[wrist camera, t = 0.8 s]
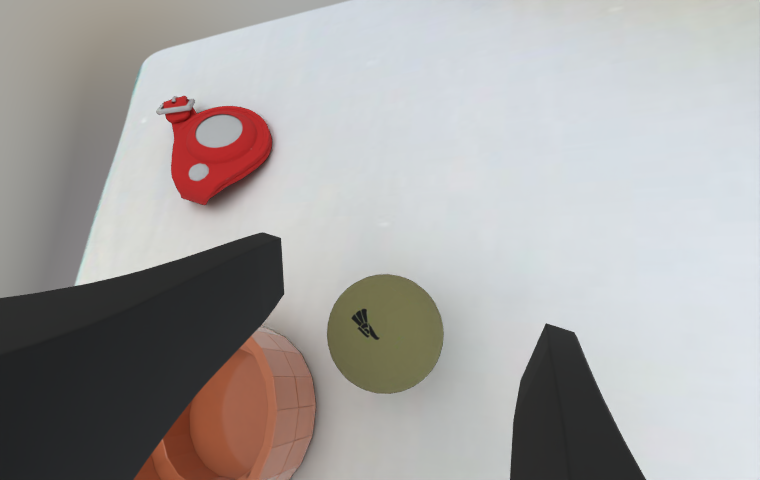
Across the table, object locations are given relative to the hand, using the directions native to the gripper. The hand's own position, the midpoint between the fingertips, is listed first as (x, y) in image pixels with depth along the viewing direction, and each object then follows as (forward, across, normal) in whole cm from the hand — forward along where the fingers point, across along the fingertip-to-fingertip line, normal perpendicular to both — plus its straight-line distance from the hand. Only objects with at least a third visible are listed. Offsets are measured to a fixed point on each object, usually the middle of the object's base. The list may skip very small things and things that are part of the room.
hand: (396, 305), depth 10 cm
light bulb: (+10, +1, +12) cm, 16 cm away
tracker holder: (+20, +24, +7) cm, 32 cm away
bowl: (+5, +11, +18) cm, 22 cm away
